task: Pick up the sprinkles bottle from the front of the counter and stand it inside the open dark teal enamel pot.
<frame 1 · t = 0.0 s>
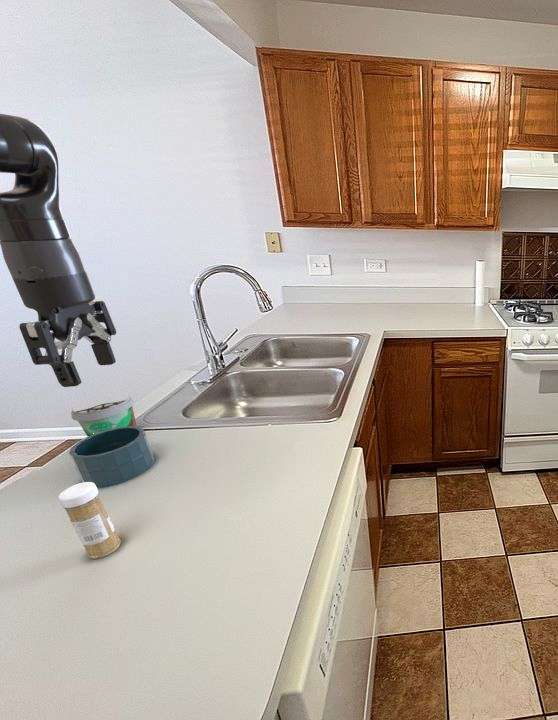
hand: (91, 374, 63), 33 cm above the table, tool pointing down, fingers open, 8 cm apart
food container: (114, 440, 104), on the table
pot: (120, 470, 92), on the table
sprinkles bottle: (105, 550, 71), on the table
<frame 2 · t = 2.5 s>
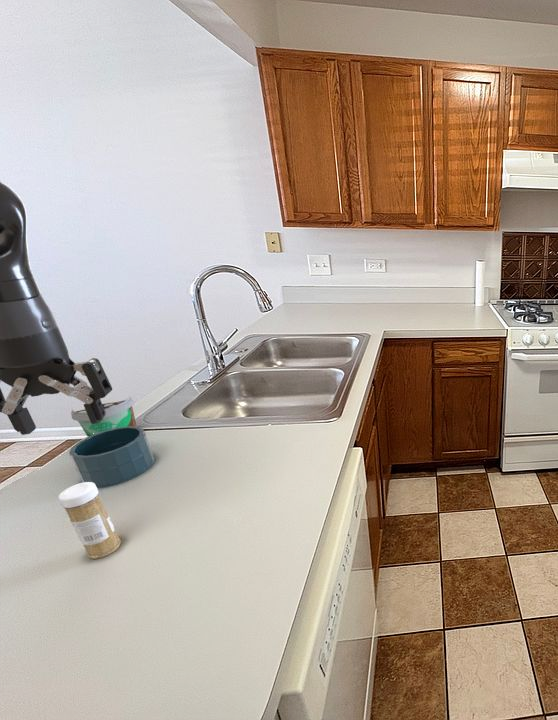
hand: (64, 426, 63), 25 cm above the table, tool pointing down, fingers open, 8 cm apart
nothing on the table moved.
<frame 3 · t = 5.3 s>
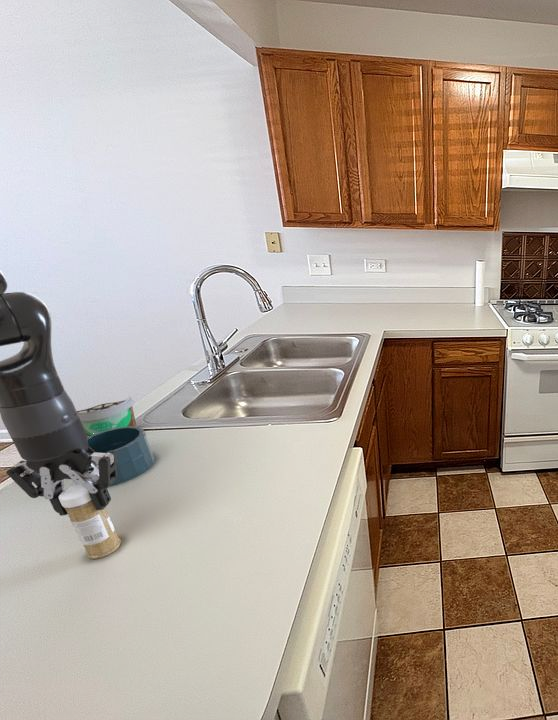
hand: (85, 508, 68), 9 cm above the table, tool pointing down, fingers closed on sprinkles bottle, 4 cm apart
sprinkles bottle: (105, 550, 71), on the table, touching gripper
everything else where it was.
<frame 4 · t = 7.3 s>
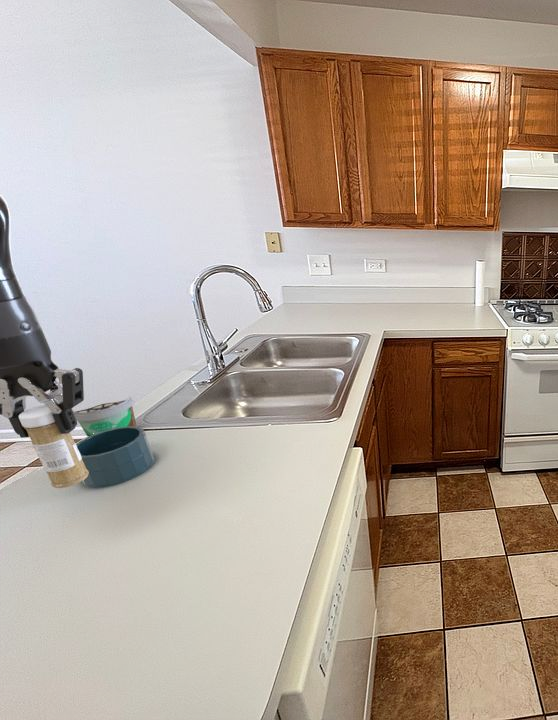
hand: (49, 432, 63), 24 cm above the table, tool pointing down, fingers closed on sprinkles bottle, 4 cm apart
sprinkles bottle: (71, 481, 66), point 15 cm above the table, touching gripper
everything else where it was.
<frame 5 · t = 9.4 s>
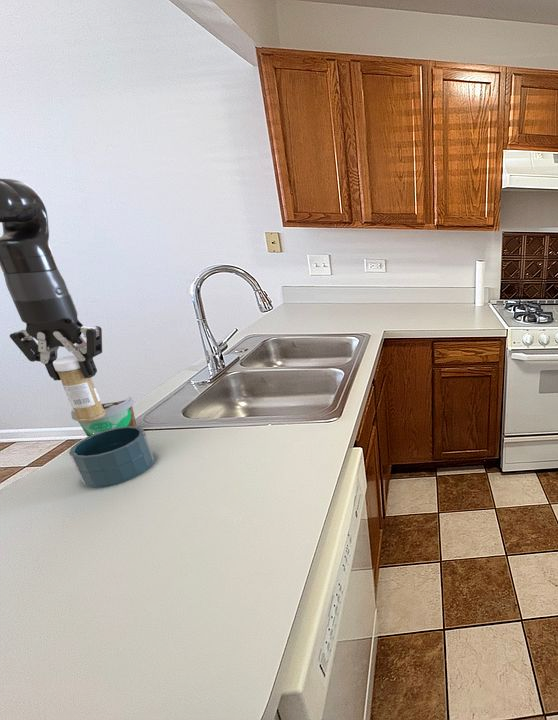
hand: (75, 377, 80), 25 cm above the table, tool pointing down, fingers closed on sprinkles bottle, 4 cm apart
sprinkles bottle: (92, 418, 84), point 16 cm above the table, touching gripper
everything else where it was.
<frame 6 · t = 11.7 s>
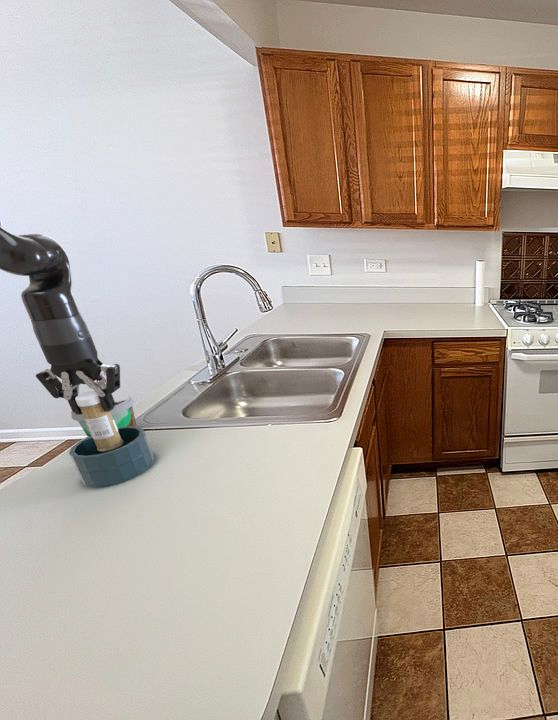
hand: (95, 411, 87), 16 cm above the table, tool pointing down, fingers closed on sprinkles bottle, 4 cm apart
sprinkles bottle: (111, 447, 90), point 6 cm above the table, touching gripper
everything else where it was.
when the fingers open (10 cm above the table, at t = 13.5 s): sprinkles bottle stays where it is, resting on pot.
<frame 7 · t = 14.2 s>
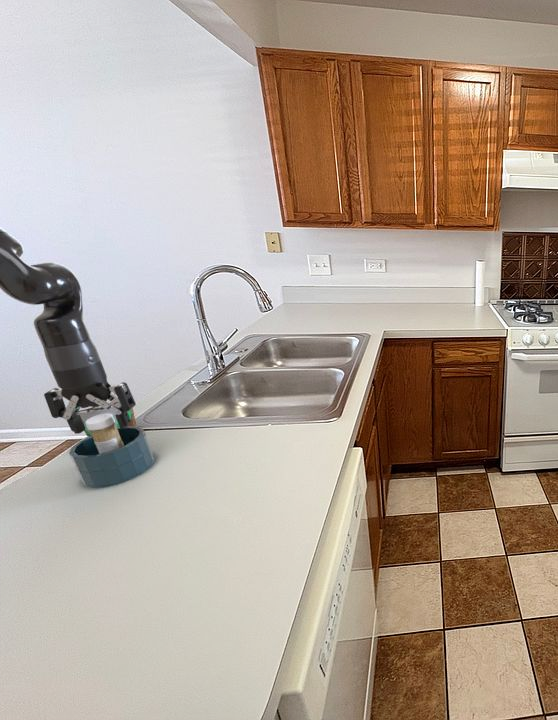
hand: (103, 429, 88), 11 cm above the table, tool pointing down, fingers open, 8 cm apart
sprinkles bottle: (119, 468, 92), resting on pot
everything else where it was.
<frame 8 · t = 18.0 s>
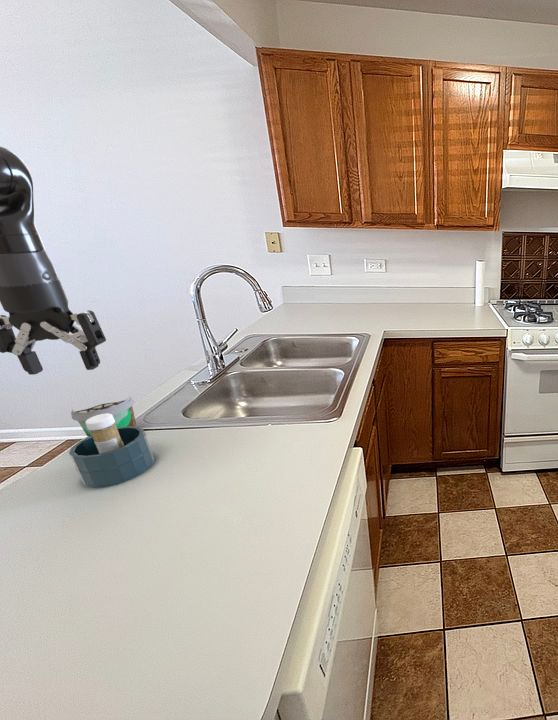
hand: (65, 370, 71), 30 cm above the table, tool pointing down, fingers open, 8 cm apart
nothing on the table moved.
at the end: sprinkles bottle inside the target area in the pot (0.1 cm from its centre), point 0.3 cm above the pot's base; sprinkles bottle tilted 0° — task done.
